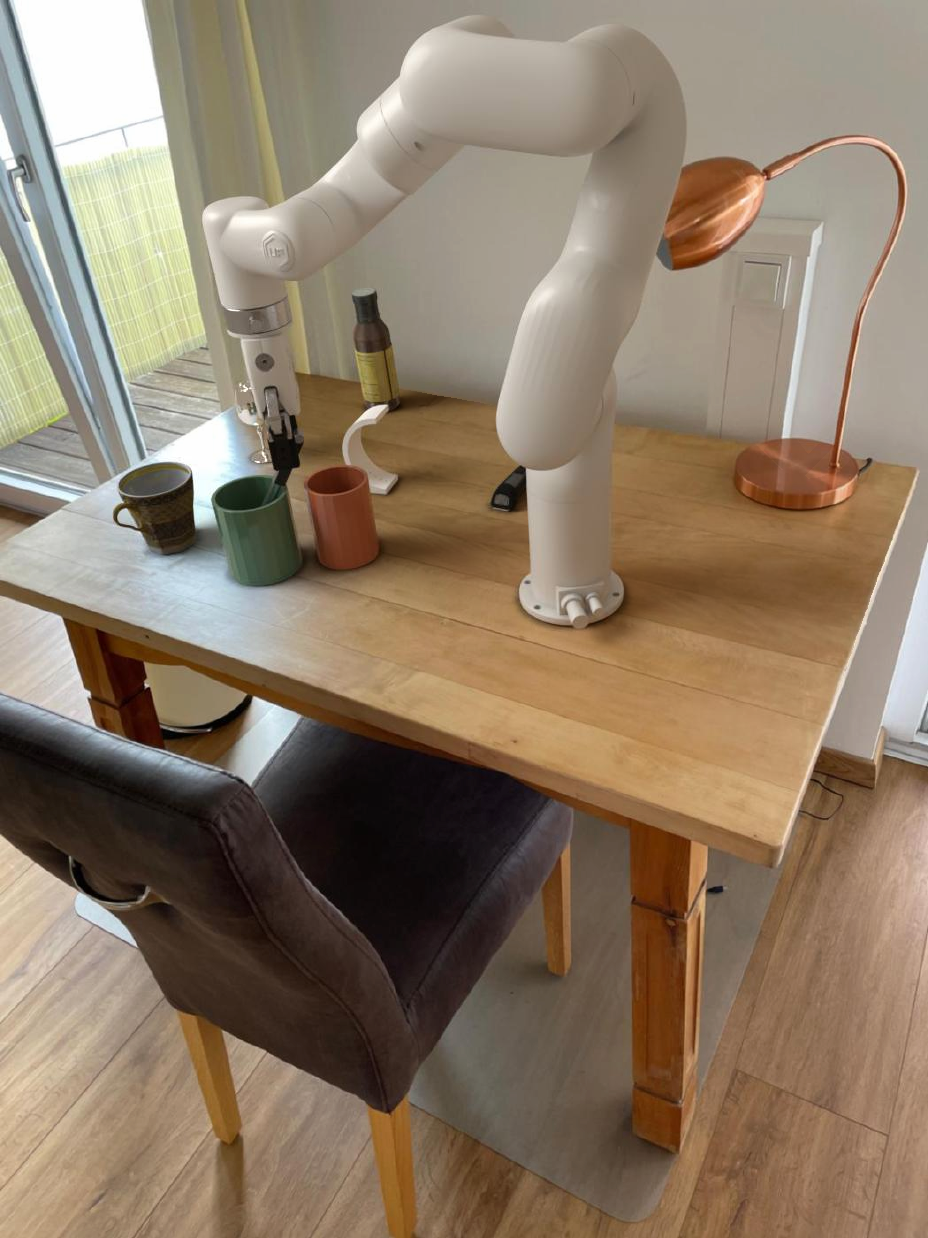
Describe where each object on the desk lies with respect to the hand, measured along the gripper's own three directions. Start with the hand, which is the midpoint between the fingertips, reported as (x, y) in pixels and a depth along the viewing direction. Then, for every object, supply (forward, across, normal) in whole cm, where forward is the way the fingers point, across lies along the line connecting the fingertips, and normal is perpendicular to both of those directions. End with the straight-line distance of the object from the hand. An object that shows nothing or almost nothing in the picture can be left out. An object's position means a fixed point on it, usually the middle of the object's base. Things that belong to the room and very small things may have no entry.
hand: (286, 450), depth 124 cm
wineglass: (+16, +33, +6) cm, 37 cm away
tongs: (+16, 0, +4) cm, 16 cm away
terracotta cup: (+16, 0, -5) cm, 17 cm away
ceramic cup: (+16, +9, +20) cm, 27 cm away
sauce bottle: (+16, +46, -14) cm, 51 cm away
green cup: (+16, 0, +6) cm, 17 cm away
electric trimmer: (+16, +11, -31) cm, 37 cm away
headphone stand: (+16, +18, -10) cm, 26 cm away
